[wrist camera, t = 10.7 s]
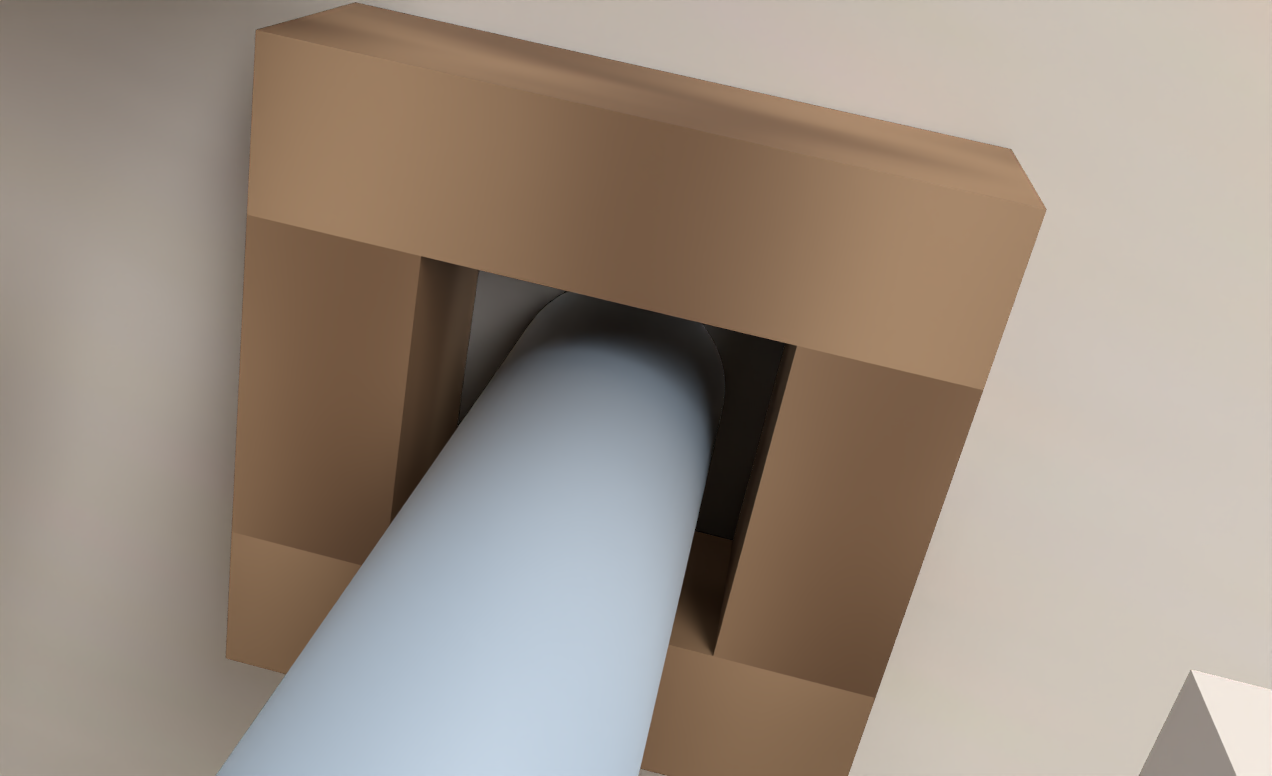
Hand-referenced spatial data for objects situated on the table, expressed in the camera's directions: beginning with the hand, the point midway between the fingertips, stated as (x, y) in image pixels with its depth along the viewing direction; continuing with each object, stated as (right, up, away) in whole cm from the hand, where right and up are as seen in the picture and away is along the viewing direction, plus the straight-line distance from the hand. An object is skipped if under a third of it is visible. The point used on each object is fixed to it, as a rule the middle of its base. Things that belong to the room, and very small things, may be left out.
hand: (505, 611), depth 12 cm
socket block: (+1, +2, +6) cm, 6 cm away
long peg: (+1, +2, +6) cm, 6 cm away
